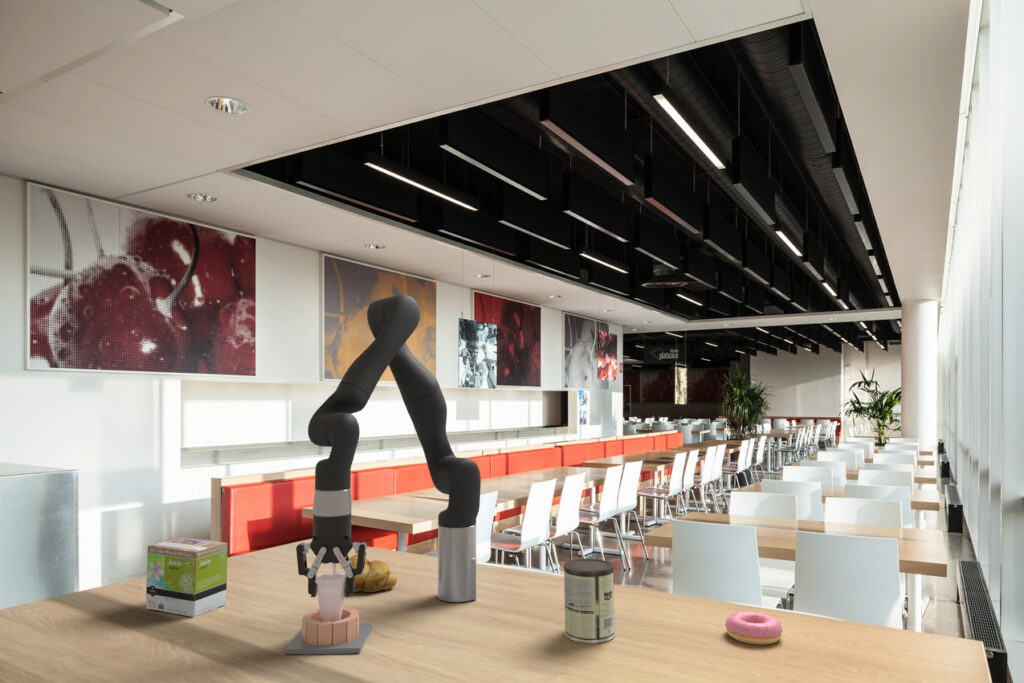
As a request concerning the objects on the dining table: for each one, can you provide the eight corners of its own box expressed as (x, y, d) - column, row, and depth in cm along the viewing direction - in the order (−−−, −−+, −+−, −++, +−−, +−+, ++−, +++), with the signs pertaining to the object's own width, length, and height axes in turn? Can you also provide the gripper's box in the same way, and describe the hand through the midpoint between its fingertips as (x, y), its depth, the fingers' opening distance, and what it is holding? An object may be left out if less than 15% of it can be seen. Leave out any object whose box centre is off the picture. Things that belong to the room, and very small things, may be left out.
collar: (371, 628, 147) (372, 603, 148) (359, 653, 133) (360, 626, 134) (304, 629, 147) (304, 604, 147) (285, 654, 133) (285, 627, 133)
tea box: (143, 610, 160) (145, 544, 161) (179, 598, 169) (181, 535, 170) (193, 618, 154) (195, 550, 155) (228, 605, 163) (229, 540, 164)
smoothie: (338, 631, 136) (339, 558, 137) (308, 629, 138) (309, 556, 139) (352, 620, 143) (353, 550, 144) (323, 618, 144) (324, 549, 145)
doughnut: (713, 632, 144) (713, 612, 145) (755, 625, 149) (755, 605, 149) (751, 651, 134) (750, 628, 135) (795, 642, 139) (794, 621, 139)
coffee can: (571, 624, 150) (570, 556, 150) (619, 629, 146) (618, 560, 147) (558, 640, 140) (557, 568, 141) (609, 646, 136) (608, 572, 137)
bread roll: (400, 585, 180) (400, 553, 180) (390, 596, 170) (390, 562, 171) (351, 583, 181) (351, 552, 181) (338, 595, 171) (339, 561, 172)
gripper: (371, 508, 146) (370, 590, 145) (301, 508, 145) (299, 591, 144) (365, 514, 138) (364, 601, 137) (291, 515, 138) (289, 602, 137)
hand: (331, 595), depth 141 cm, fingers closed on smoothie, 6 cm apart
